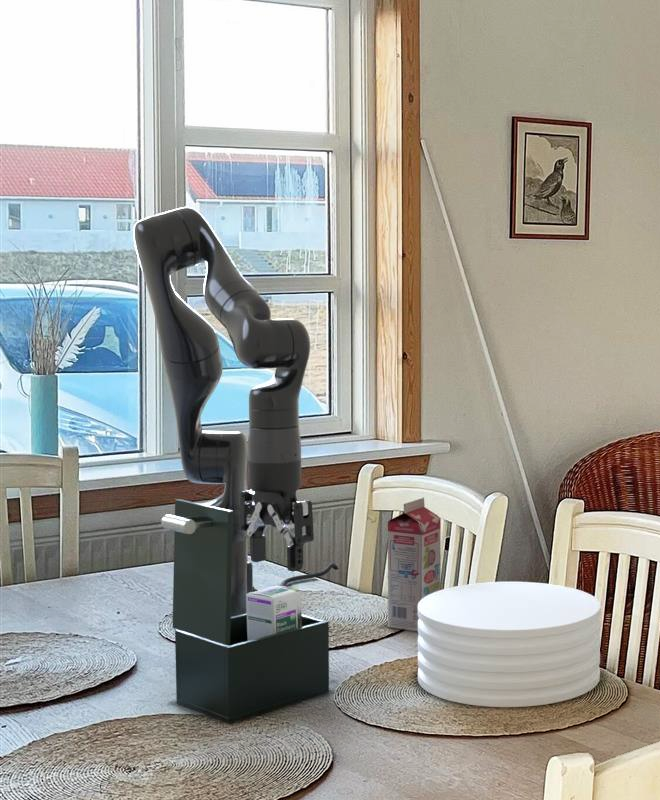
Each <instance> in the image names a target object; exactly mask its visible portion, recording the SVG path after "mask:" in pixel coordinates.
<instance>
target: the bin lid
mask: <svg viewBox="0 0 660 800" xmlns="http://www.w3.org/2000/svg"><path fill="white" fill-rule="evenodd" d="M160 525H161V527H162V528H164V529H165V530H170V531H174V534H173V535H174V537H173V580H172V581H173V583H172V585H173V586H172V628H173V629H174V630H175V629H176V630H181V631H184V632H187V633H190V634H193V635H196V636H200V637H203V638H206V639H209V640H212V641H215V642H218V643H221V644H224V645H228V644H230V623H231V581H232V539H233V511H231V510H227V509H222V508H218V507H213V506H209V505H204V504H201V503H199V502H194V501H190V500H186V499H181V498H177V499H174V515H173V514H165V515H163V516H162V518H161V520H160Z"/></svg>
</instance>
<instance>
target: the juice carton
mask: <svg viewBox="0 0 660 800" xmlns="http://www.w3.org/2000/svg"><path fill="white" fill-rule="evenodd" d="M441 520H442V519H441V517H440V516H439V515H438V514H436V513H435V512H433V511H431V510H430V509H429V508H427V507H425V497H424V496H423V497H422V498H417V499H415V500H412V501H408V502H406V503H403V513H401V514H399V515H397V516H395V517H393V518H390V520H388V521H387V628H392V629H399V630H400V629H401V630H407V631H414V632H418V620H419V617H418V603H419V602H420V601H421V600H422V599H423V598H424V597H426V596H427V595H429V594H431V593H434V592H437V591H439V590H441V559H442V558H441V555H442V554H441V548H442V547H441V540H442V538H441V537H442V536H441V534H442V533H441V531H442V530H441V525H442V524H441V523H442V521H441Z"/></svg>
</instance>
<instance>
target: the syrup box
mask: <svg viewBox="0 0 660 800" xmlns="http://www.w3.org/2000/svg"><path fill="white" fill-rule="evenodd" d="M257 590H258V591H255V592H250V593H247V594H246V604H247V638H248V641H249V640H253V639H257V638H261V637H264V636H268V635H272V634H276V633H280V632H284V631H288V630H292V629H295V628H299V627H302V613H303V612H302V611H303V610H302V609H303V608H302V591H301V589H297V588H295V587H291V586H286V585H285V586H280V585H276V584H275V585H271V586H269V587H266V588H262V589H257Z"/></svg>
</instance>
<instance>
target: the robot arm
mask: <svg viewBox="0 0 660 800" xmlns="http://www.w3.org/2000/svg"><path fill="white" fill-rule="evenodd" d="M133 241H134V247H135V251H136V255H137V258H138V262H139V266H140V268H141V271H142V276H143V279H144V282H145V287H146V289H147V292H148V295H149V298H150V304H151V306H152V311H153V315H154V320H155V325H156V330H157V335H158V341H159V347H160V353H161V358H162V363H163V367H164V371H165V375H166V379H167V383H168V387H169V391H170V395H171V400H172V405H173V410H174V415H175V423H176V430H177V439H178V440H177V441H178V447H179V448H178V449H179V454H180V462H181V466H182V471H183V473H184V476H185V478H186V479H187V480H188V481H189V482H190V483H194V484H201V485H224V490H223V493H222V494H221V495H220V496H218V497H216V498H213V499H211V500H208V501H205V502H201V503H200V504H204V505H209V506H213V507H218V508H222V509H227V510H231V511H233V539H232V581H231V617H234V616H238V615H242V614H246V613H247V604H246V594H247V593H250V592H255V591H258V590H259V589H256V588H255V586H254V577H253V576H254V572H253V566H254V565H253V563H259V562H264V561H266V558H267V541H266V540H267V539H266V538H267V537H266V535H265V534H266V531H267V530H268V527H269V526H270V525H271V527H273V528H276V529H277V530H278V533H279V534H281V535H283V537H284V540H285V542H286V544H287V546H286V566H287V567H286V569H287V571H289V572H291V573H293V572H298V571H301V570H302V569H303V567H304V545H305V544H307V543H309V542H310V543H311V542H313V541H314V539H315V534H314V533H315V532H314V517H313V516H314V515H313V503H312V501H311V500H304V501H298V497H297V494H296V493H297V492H298V490H299V489H300V488H302V439H301V433H300V432H301V431H300V420H299V419H300V416H299V414H300V413H299V406H300V403H299V401H300V400H299V399H300V394H301V389H302V386H303V382H304V378H305V373H306V370H307V365H308V363H309V358H310V355H311V338H310V335H309V332H308V329H307V328H306V326H305V325H304V323H302V322H301V321H300V320H298V319H295V318H275V319H271V317H272V312H271V308H270V305H269V304H268V302H267V301H266V299H264V297H263V296H262V295H261V294H260V293H259V292H258V291H257V290H256V289H255V288H254V287H253V285H251V283H250V282H248V281H247V280H246V278H245V277H244V276H243V275H242V273H241V272H240V270H239V269H238V268H237V266H236V265H235V263H234V261H233V260H232V258H231V256H230V255H229V254H228V252H227V250H226V248H225V247H224V245H223V244H222V242H221V241H220V239H219V237H218V236H217V234H216V233H215V230H213V228H212V227H211V225H210V224H209V222H208V221H207V220H206V219H205V217H204V216H203V215H202V214H201V213H200V212H199V211H198V210H197V209H195V208H193V207H189V206H184V207H179V208H175V209H172V210H168V211H165V212H161V213H158V214H155V215H151V216H147V217H145V218H143V219H140V220H138V221H137V222H135V224H134V226H133ZM202 263H203V264H205V265H206V273H205V278H204V281H203V282H204V283H203V297H204V301H205V304H206V306H207V308H208V310H209V311H210V312H211V314H212V315H213V316H214V318H216V319H217V321H218V322H219V323H220V324H221V325H222V326H223V327H224V328H225V329H226V331H227V333H228V337H229V339H230V341H231V344H232V346H233V350H234V353H235V356H236V358H237V360H238V361H239V362H240V363H241V364H242V365H244V366H245V367H248V368H250V369H253V370H266V369H275V371H274V374H273V375H272V377H271V379H270V380H268V381H266V382H265V383H262V384H258V385H256V386H255V387H253V388H251V390H250V391H249V394H248V421H249V422H248V426H249V427H248V436H247V437H246V435H245V434H244V433H243V432H240V431H227V430H226V431H225V430H204V428H203V427H202V422H201V421H202V419H201V417H202V413H203V411H204V409H205V407H206V405H207V403H208V401H209V399H210V398H211V396H212V395H213V393H214V392H215V390H216V388H217V386H218V384H219V383H220V381H221V378H222V374H223V369H224V365H223V359H222V354H221V349H220V343H219V338H218V334H217V332H216V331H215V329H214V328H213V326H212V325H211V323H209V322H208V321H207V320H206V319H205V318H204V317H203V316H202V315H201V314H199V313H198V312H197V311H196V310H195V309H193V308H192V307H191V306H190V305H189V304H187V303H186V301H184V299H182V298H181V296H180V295H179V294H178V293H177V292H176V291H175V288H174V285H173V284H172V281H171V275H172V274H173V273H176V272H180V271H182V270H186V269H189V268H192V267H195V266H198V265H199V264H202ZM248 516H249V521H248ZM304 527H305V528H304ZM303 528H304V529H305V533H304V532H303ZM292 533H293V534H294V536H293V534H292ZM248 537H249V555H250V560H251V561H248V559H249V558H248ZM331 569H333V570H337V571H338V570H339V567H338V565H337V564H336V563H334V562H331V563H329V564H327V566H326V567H325V568H324V569H323V570H322V571H319V572H314V573H313V572H312V573H308V574H301V575H295V576H291V577H287V578H286V579H284V580H282V582H281V583H280V585H279V586H286V585H288V584H290V583H292V582H296V581H302V580H308V579H309V580H310V579H314V578H318V577H323V576H325V575H326V574H328V573H329V572H330V570H331Z"/></svg>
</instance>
